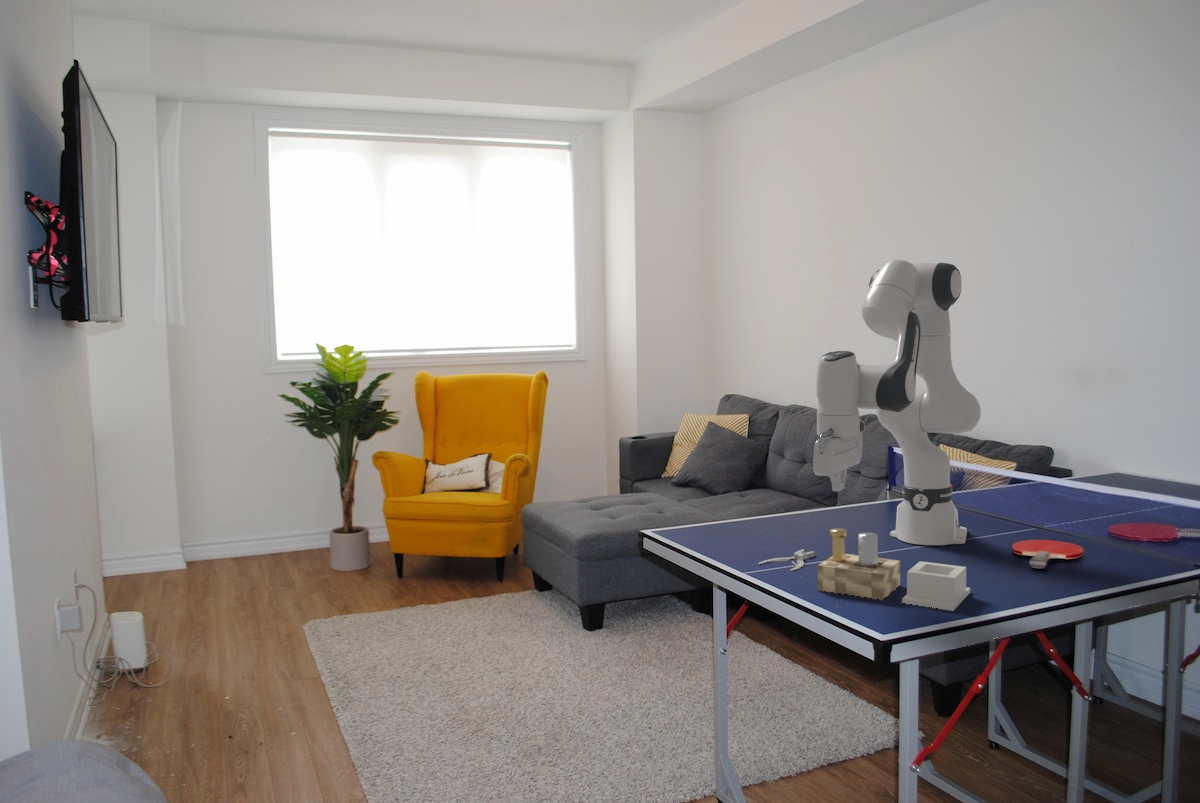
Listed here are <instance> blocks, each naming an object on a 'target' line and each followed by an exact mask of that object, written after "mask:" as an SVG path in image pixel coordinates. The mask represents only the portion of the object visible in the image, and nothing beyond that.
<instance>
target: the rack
mask: <svg viewBox="0 0 1200 803" xmlns="http://www.w3.org/2000/svg"><path fill="white" fill-rule="evenodd" d="M970 594H971V587H967V566H961V565H955V564H954V565H953V564H945V563H937V562H929V561H921V560H920V561H918V562H917V563H916V564H915V565H914V566H912V567H910V569H909V570H908V571H906V595H904V596H903V597H902V599H901V604H903V603H905V605H910V604H912V605H911V606H916V605H918V607H923V606H924V608H929V607H930V608H929V609H936V608H938V609H937V610H944V611H949V612H950V611H951V612H954V611H955V610H956V609H957V608H958V607H959V605H960V604H962V602H963V601H964V600H965V599H966V598H967V596H969V595H970ZM931 607H932V608H931Z"/></svg>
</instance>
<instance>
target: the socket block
mask: <svg viewBox="0 0 1200 803" xmlns="http://www.w3.org/2000/svg"><path fill="white" fill-rule="evenodd" d="M816 569H817V591H818V590H819V591H818V592H824V591H825V592H826V593H831V592H833V594H838V593H841V594H840V595H844V594H848V595H847V596H851V595H855V596H854V597H857V596H860V597H859V598H864V597H867V598H866V599H870V598H872V600H877V599H879V601H884V600H885V599H886V598H887V597H888V596H889V595H891V594H892V593H893V592H894V591H896V590H897V589H898V588H899V587H900V586H901V560H898V559H889V558H882V557H878V568H877V569H873V568H866V567H858V554H852V553H851V554H850V553H845V561H844V562H834V561H833V555H831V556H830V557H828V558H826V559H825V560H823V561H822V562H820V563H819V564H818V565H817V567H816ZM899 585H900V586H899ZM898 586H899V587H898ZM897 587H898V588H897ZM896 588H897V589H896ZM892 591H893V592H892ZM825 592H824V593H825ZM891 592H892V593H891ZM890 593H891V594H890ZM885 597H886V598H885ZM884 598H885V599H884ZM883 599H884V600H883Z"/></svg>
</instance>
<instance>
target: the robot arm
mask: <svg viewBox="0 0 1200 803" xmlns="http://www.w3.org/2000/svg"><path fill="white" fill-rule="evenodd" d="M962 285H963V284H962V275H961V273H960V270H959V269H958V267H956V265H954V264H952V263H947V262H938V263H930V262H929V263H928V262H925V263H923V262H922V263H921V262H918V263H917V262H915V263H911V262H910V261H908V260H904V259H893V260H892V259H891V260H889V261H887V262H886V263H885V264H883V265H882V266H881V268H880V269H877V270H876V271H875V272H874V273H873V274H872V275H871V278H870V280H869V283H868V290H867V291H866V295H865V297H864V299H863V302H862V306H861V316H862V319H863V322H864V323H865V324H866V326H867V327H868V328H869V329H870V330H871V331H872V332H873V333H875V334H877V335H879V336H880V337H883V338H887V339H890V340H893V341H895V342H896V347H895V354H894V361H892V362H891V363H888V364H884V365H881V364H880V365H866V364H865V365H864V364H860V363H858V362H857V356H856V353H855V352H852V351H849V350H848V351H847V350H836V351H830V352H827V353H826V352H825V353H824V354H822V355H821V356H820V357H819V361H818V366H817V372H816V397H817V400H818V404H817V410H816V435H817V436H819V438H818V439H817V440H816V441H815V443H814V447H813V461H812V462H813V463H812V469H813V473H814V475H815V476H819V477H820V476H822V477H829V479H830V482H831V491H832V492H836V493H837V492H840V491H843V490H844V489H845V482H846V477H847V474H848V469H849V468H851V467H853V466H856V465H858V464H860V463H861V461H862V458H863V457H862V456H863V444H864V443H863V441H864V438H863V437H864V436H863V435H864V434H863V433H864V432H865V430H866V426H865V425H866V424H865V423H866V422H864V420H862V419H860V411H859V409H862V410H863V409H864V410H876V417H877V419H878V421H879V423H880V424H881V426H882V427H884V429H886V430H887V431H889V432H890V434H892V436H893V437H894V439H895V440H896V442H897V444H898V446H899V448H900V451H901V454H902V458H903V459H902V460H903V472H904V473H903V474H904V479H903V480H904V484H903V485H902V489H901V490H902V491H901V493H902V499H903V500H902V501H901V502H900V503H898V505H897V507H896V518H895V520H896V521H895V529H894V530H891V531H890V533H889V536H890V537H893V538H896V539H898V540H899V541H902V542H905V543H907V544H913V545H920V546H921V545H922V546H946V545H962V544H966V541H967V535H968V529H967V527H964V526H961V524H960V522H959V512H958V508H957V507H956V505H955V504H954V503H953V501H952V500H953V484H951V460H950V457H949V455H948V454H947V453H946V452H945V450H943V449H942V448H940V447H939V446H937V445H935V444H933V443H932V442H931V440H930V438H929V436H928V433H929V434H930V433H931V434H932V433H933V434H951V435H952V434H960V433H967V432H972V431H973V430H974V429H975V428H976V426H977V425H978V424H979V421H980V420H981V413H982V412H981V406H980V403H979V401H978V399H977V398H976V396H974V394H973V393H971V392H969V391H968V390H967V388H965V387H964V386H963V385H962V384H961V382H960V381H959V379H958V378H957V376H956V373H955V370H954V367H953V362H952V351H951V348H952V347H951V342H952V341H951V334H952V332H951V319H950V312H949V309H950V308H951V306H953V305H955V303H956V302H957V301H958V299H959V298H960V296H961V292H962ZM916 376H918V377H920V378H922V379H923V381H924V382H925V385H926V388H927V389H916V388H917V387H916V385H917V384H916V383H917V382H916V380H917V379H916Z"/></svg>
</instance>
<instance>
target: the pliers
mask: <svg viewBox="0 0 1200 803" xmlns="http://www.w3.org/2000/svg"><path fill="white" fill-rule="evenodd" d="M813 557H815V551H813V550H812V551H807V552H805V548H803V549H800V550H797V551H795V552H794V553H793V556H789V557H787V556H786V557H774V558H769V559H766V560H762V561H759V562H758V563H757V565H758V564H759V565H758V566H761V565H760V564H762V565H765V564H764V563H766V564H768V563H767V562H770V563H788V562H787V561H791V562H792V563H793V564H794V566H795V565H796V566H795V567H792V568H791V569H789V572H791V571H792V572H794V571H793V570H796V571H798V570H800V569H802V568H803V567H804V566H805V562H804V560H808V559H810V558H813ZM791 559H793V560H791ZM796 559H797V560H796ZM794 560H796V563H795V562H794ZM793 564H792V565H793ZM801 567H802V568H801ZM797 569H798V570H797Z"/></svg>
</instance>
